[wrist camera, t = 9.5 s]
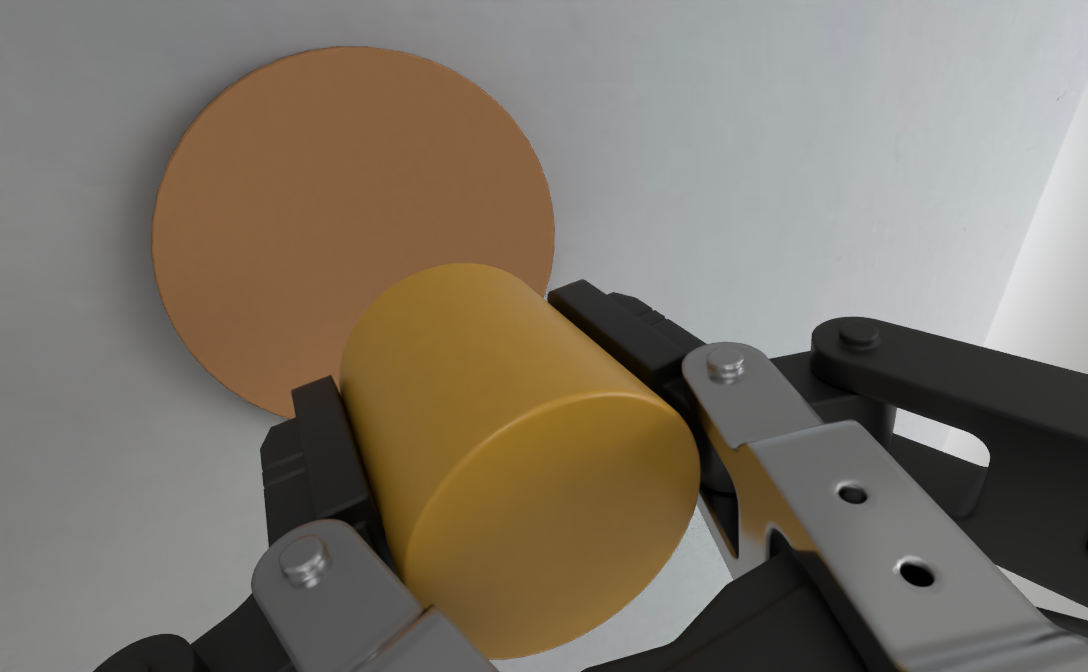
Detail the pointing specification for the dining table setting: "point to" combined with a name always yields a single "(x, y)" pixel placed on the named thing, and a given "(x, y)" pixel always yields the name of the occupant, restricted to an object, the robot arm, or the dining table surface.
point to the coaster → (334, 208)
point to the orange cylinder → (512, 459)
